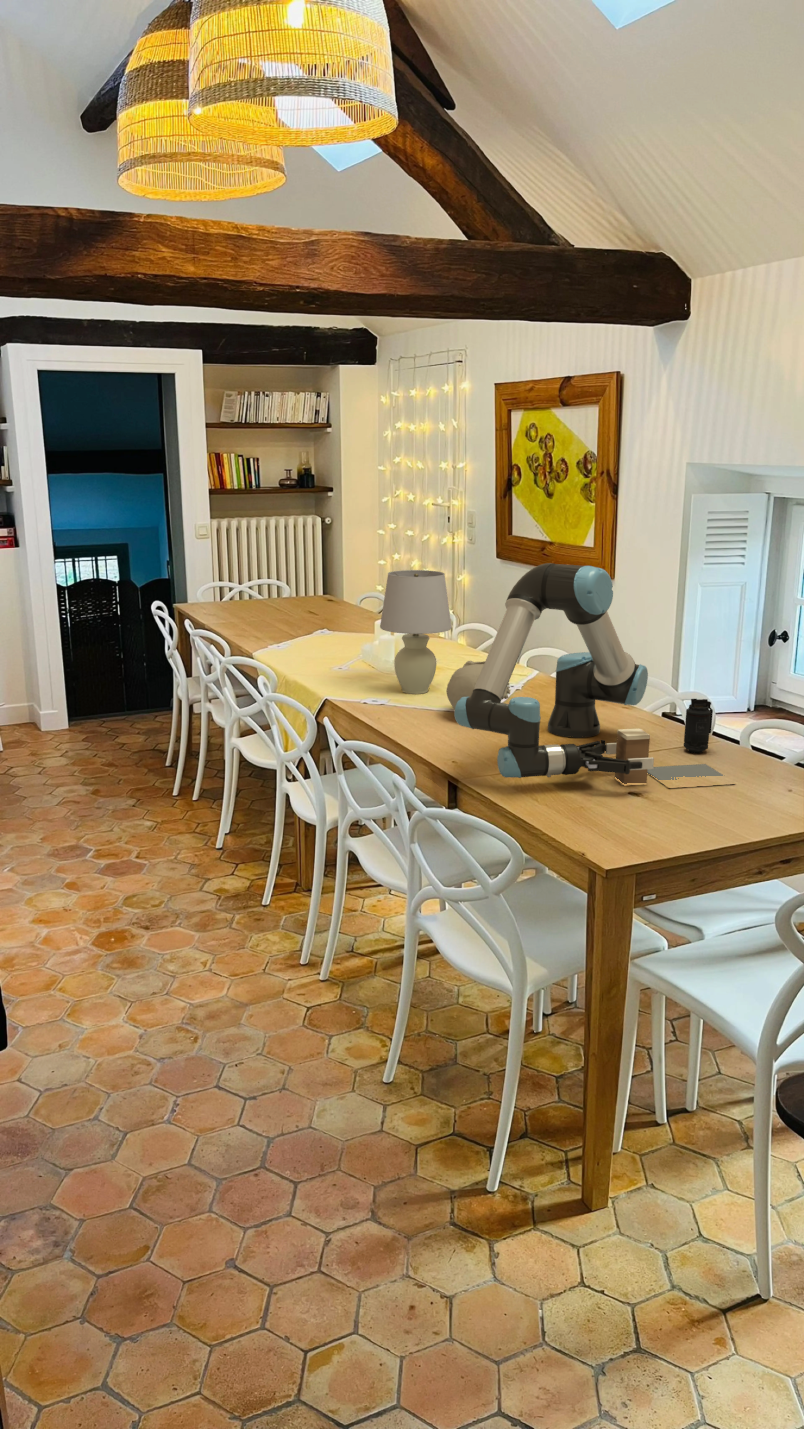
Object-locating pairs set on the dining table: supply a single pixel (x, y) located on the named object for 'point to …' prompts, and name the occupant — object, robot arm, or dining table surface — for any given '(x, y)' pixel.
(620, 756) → the block
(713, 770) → the mat
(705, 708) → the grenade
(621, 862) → the dining table surface
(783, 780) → the dining table surface
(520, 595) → the robot arm
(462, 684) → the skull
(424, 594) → the lamp
